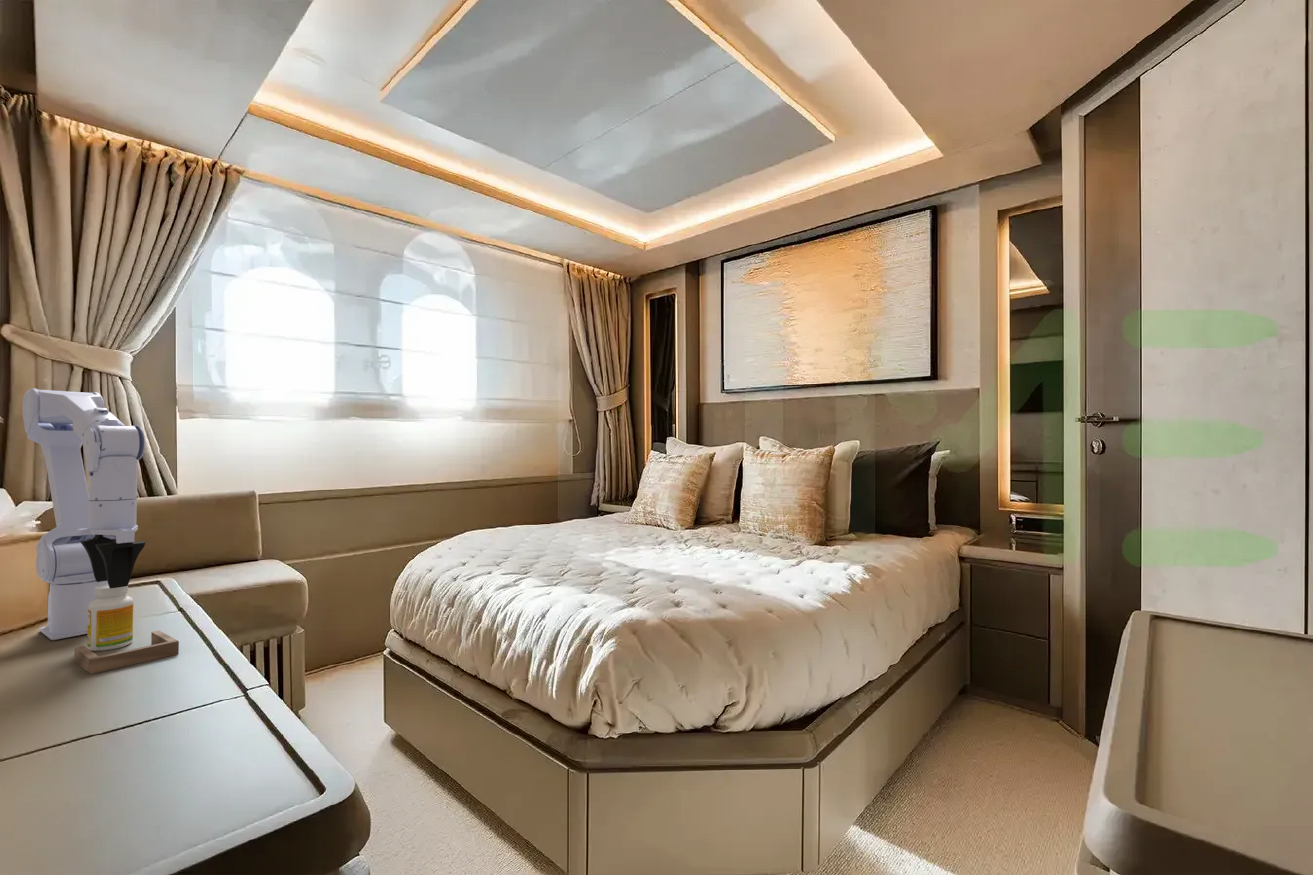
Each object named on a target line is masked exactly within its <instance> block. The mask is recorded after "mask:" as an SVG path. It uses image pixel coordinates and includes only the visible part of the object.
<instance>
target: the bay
mask: <svg viewBox="0 0 1313 875" xmlns="http://www.w3.org/2000/svg"><path fill="white" fill-rule="evenodd" d="M150 638H151V640H150V641H151V642H150V643H151V645H146V646H145V645H144V646H141V647H136V648H132V649H126V650H122V651H118V652H114V653H109V654H103V655H100V656H99V655H97V654H96V653H94V651H90V650H89V649H88V648H87V646H85V645H80V646H76V647H74V662H75V663H76V664H78V665H79V666H80V667H81V668H82V669H84V670H85V672H87V673H89V674H90V675H93V674H97V673H101V672H106V671H110V670H114V669H118V668H119V669H120V668H123V667H128V666H132V665H133V666H134V665H137V664H141V663H146V662H149V661H154V660H158V659H163V658H167V657H171V656H176V655H179V653H180V652H179V650H180V649H179V648H180V646H179V645H180V641H179V640H178V639H176V638H174V637H172V636H170V635H169V634H166V633H164V632H162V631H161V630H156V631H151V636H150Z"/></svg>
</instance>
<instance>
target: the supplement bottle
mask: <svg viewBox="0 0 1313 875" xmlns="http://www.w3.org/2000/svg"><path fill="white" fill-rule="evenodd" d="M128 591H129V585H128V586H125V587H118V588H109V585H108V584H106V585H100V586H97V587H95V589H94V595H95V597H96V600H94V601H92V602H91V603H90V604H89V606H88V632H87V634H86V635H87V638H86V639H87V640H86V644H87V646H86V648H88V649H89V650H90V651H92V652H102V651H110V650H116V649H120V648H124V647H127V646H128V645H130V644H131V643H133V639H134V638H133V637H134V599H133V597H131V596H129V595H127V593H129V592H128Z"/></svg>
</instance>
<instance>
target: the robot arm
mask: <svg viewBox="0 0 1313 875" xmlns="http://www.w3.org/2000/svg"><path fill="white" fill-rule="evenodd" d="M21 408H22V409H21V410H22V420H23V426H24V431H25V432H24V433H26V435H27V439H28V440H30V441H32V442H34V443H36V444H39V445H40V447H41V450H42V453H43V456H44V460H45V467H46V473H47V479H48V483H49V490H50V496H51V502H52V508H53V514H54V519H55V520H54V521H55V524H56V526H55V527H54V528H53V529H51V530H50V531H47V532H46V533H45V534H43V535H42V536H41V537H40V539H39V540H38V542H37V544H36V559H35V567H36V573H37V576H38V579H40V580H41V581H43V582H46V583H48V584H49V592H48V597H47V600H48V601H47V626H42V627H39V632H41V633H42V634H43V635H44V636H46V637H47V638H48V639H49V640H51V641H57V640H61V639H67V638H72V637H77V636H82V635H87V632H88V606H89V604H90V603H91V602H92V601H94V600H96V597H95V595H94V589H95V587H97V586H100V585H106V584H108V585H109V588H118V587H125V586H128V587H129V584H130V580H131V578H132V574H133V570H134V567H135V564H136V562H137V559H138V557H139V555H140V553H141V551H143V549H144V547H145V546H146V542H145V541H143V540H142V541H135V536H136V534H135V533H136V532H137V531H138V530H139V525H138V524H137V517H138V516H137V512H138V511H137V510H138V508H137V505H138V498H137V497H138V466H139V465H138V464H139V463H138V461H140V460H141V459H142V458H143V456H144V453H145V448H146V436H145V433H144V430H143V429H142V428H141V426H140V425H138V424H135V425H133V424H132V425H127V426H126V425H125V424H124V423H123V422H122V421H121V420H120V419H119V418H117V416H116V415H114V414H113V413H112V412H111V411H110V410H109V409H108V408H106V406H105V400H104V397H103V396H102V395H101V394H100V393H99V392H98V391H97V392H96V391H92V392H81V391H67V390H66V391H65V390H53V389H52V390H51V389H50V390H49V389H38V388H34V387H32V388H29V389H28V390H27V391H25V392H24V395H23V398H22V406H21ZM82 447H83V453H84V454H83V455H84V458H85V468H86V472H88V474H89V478H88V479H89V480H88V481H89V482H88V483H87V478H86V473H85V469H84V462H83V458H82V457H83V456H82V452H81V451H82V450H81V448H82ZM88 484H89V485H88ZM88 486H89V487H88Z"/></svg>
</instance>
